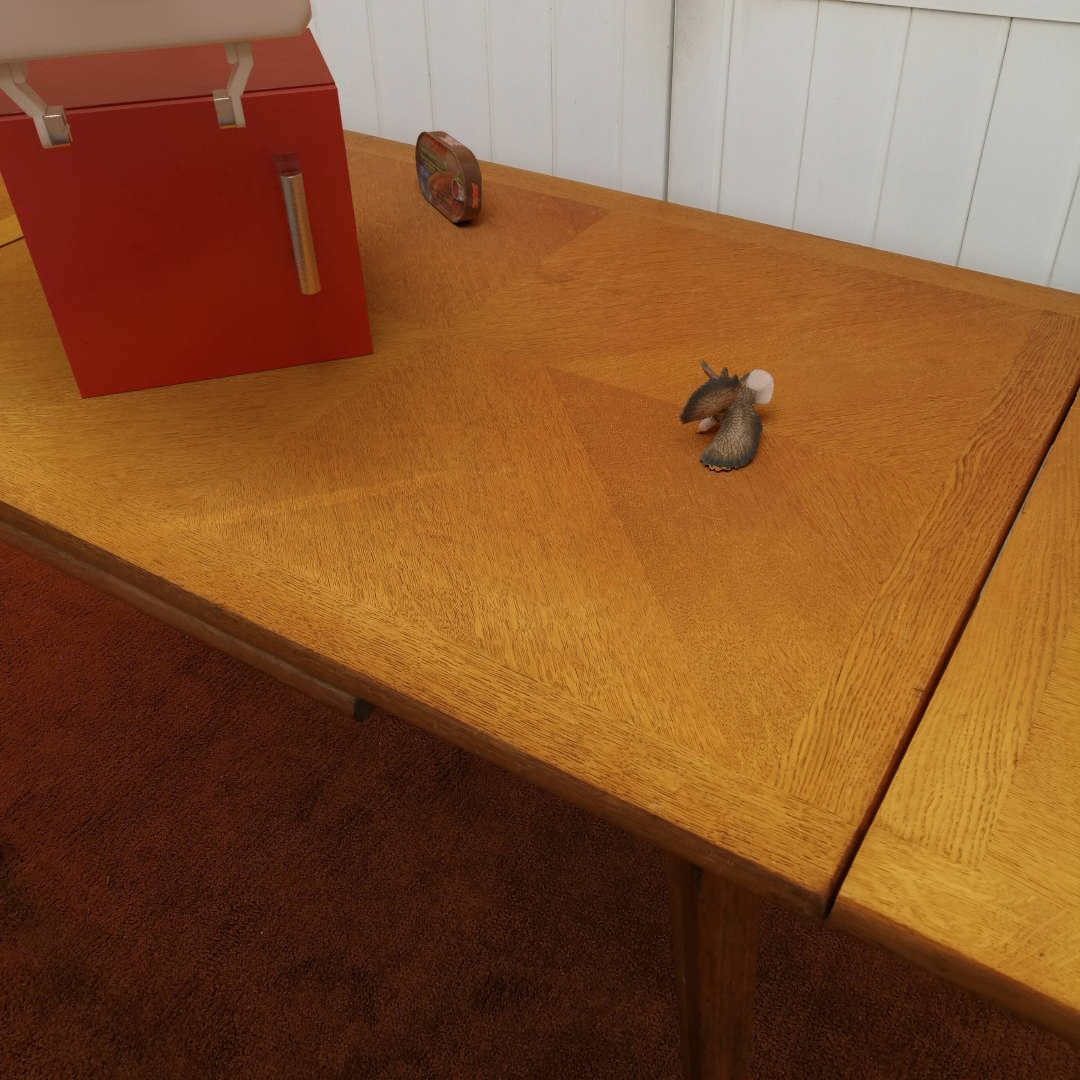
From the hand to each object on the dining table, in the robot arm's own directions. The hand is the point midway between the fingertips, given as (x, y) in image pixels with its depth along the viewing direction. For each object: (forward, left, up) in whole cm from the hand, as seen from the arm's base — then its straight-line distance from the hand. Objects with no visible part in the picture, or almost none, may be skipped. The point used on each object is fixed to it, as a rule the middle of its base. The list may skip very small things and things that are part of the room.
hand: (147, 135), depth 56 cm
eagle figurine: (+39, +1, -30) cm, 49 cm away
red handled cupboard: (0, +22, -29) cm, 36 cm away
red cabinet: (0, +34, -29) cm, 45 cm away
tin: (+28, +56, -30) cm, 69 cm away
